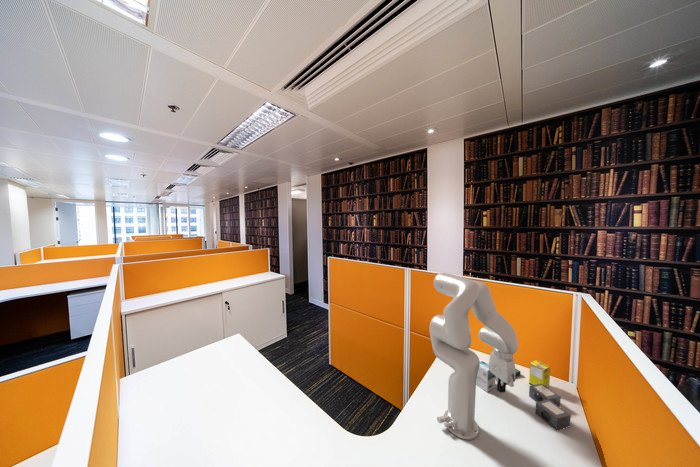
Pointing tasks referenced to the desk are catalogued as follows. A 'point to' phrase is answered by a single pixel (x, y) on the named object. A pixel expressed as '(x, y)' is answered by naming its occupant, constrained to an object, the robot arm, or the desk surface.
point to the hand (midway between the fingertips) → (501, 391)
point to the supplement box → (539, 373)
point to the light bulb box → (485, 377)
